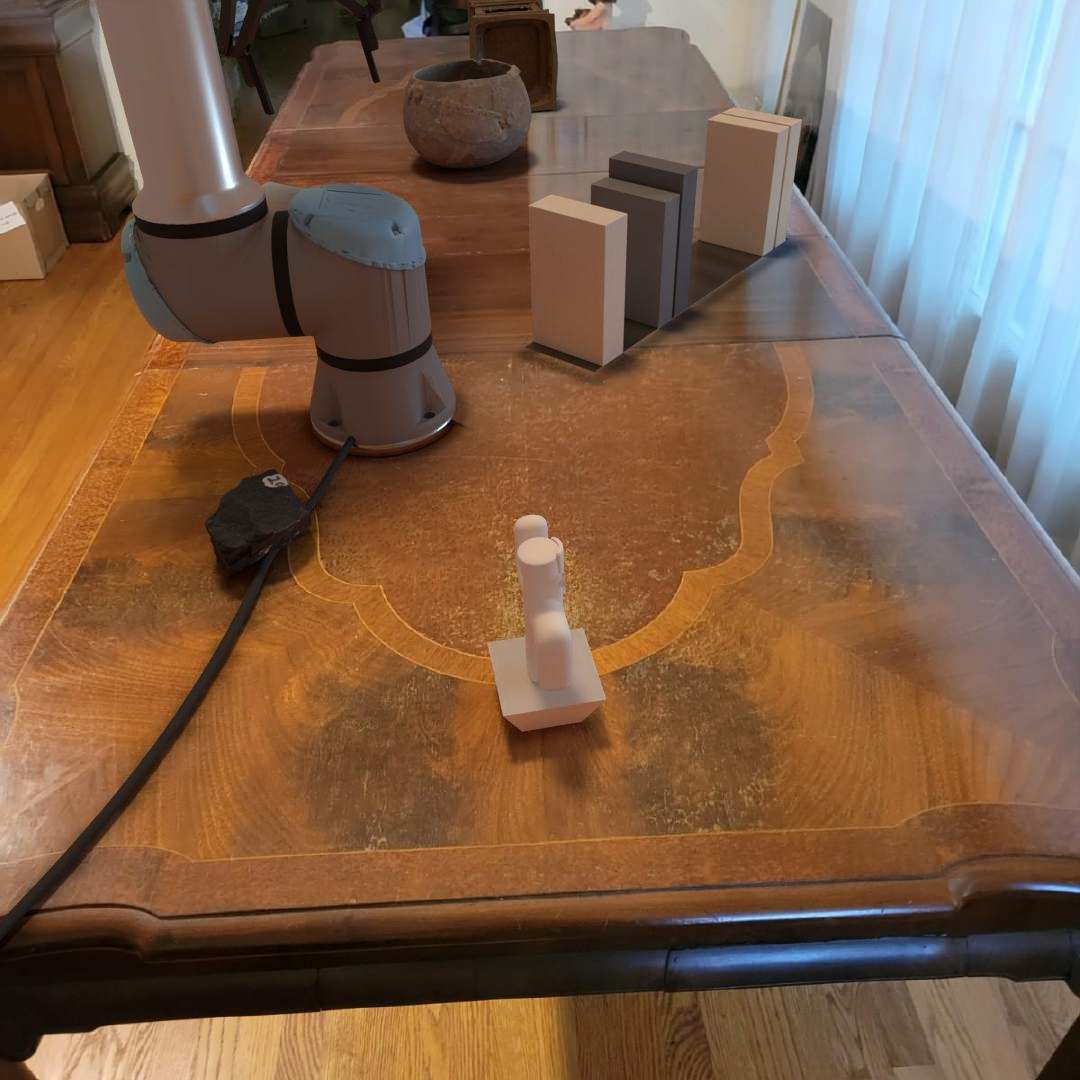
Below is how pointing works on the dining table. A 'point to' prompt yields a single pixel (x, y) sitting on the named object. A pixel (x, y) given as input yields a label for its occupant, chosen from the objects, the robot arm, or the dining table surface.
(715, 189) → the white books
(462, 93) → the clay pot
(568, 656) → the figurine
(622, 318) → the white book
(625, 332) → the black base plate
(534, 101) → the ornamental box
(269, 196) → the ceramic mug
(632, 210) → the grey books
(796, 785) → the dining table surface
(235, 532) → the mineral
